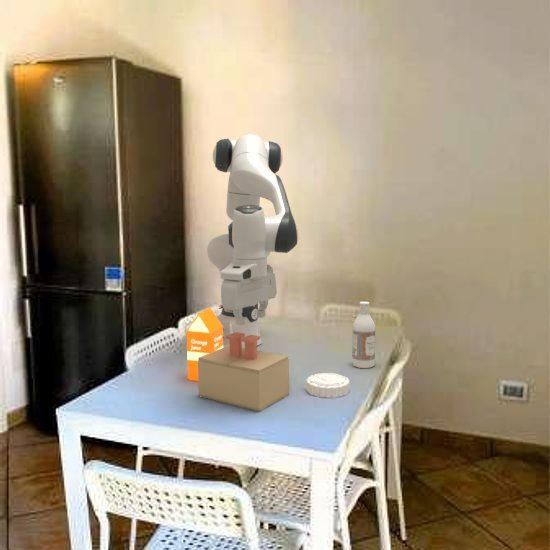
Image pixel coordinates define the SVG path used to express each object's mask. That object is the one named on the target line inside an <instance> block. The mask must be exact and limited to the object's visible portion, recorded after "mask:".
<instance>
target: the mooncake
mask: <svg viewBox="0 0 550 550" xmlns="http://www.w3.org/2000/svg"><path fill="white" fill-rule="evenodd" d="M350 382H351V381H350V379H349V378H348V377H347V376H344V375H341V374H338V373H334V372H323V373H322V372H320V373H316V374H311V375H310V376H308V377H307V378H306V380H305V390H306V393H309V395H311V396H313V397H319V398H325V399H330V398H333V399H334V398H340V397H343V396H346V395H347V394H349V393H350V391H351V390H350V389H351V387H350V385H351V383H350Z"/></svg>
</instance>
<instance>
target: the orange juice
mask: <svg viewBox="0 0 550 550" xmlns="http://www.w3.org/2000/svg"><path fill="white" fill-rule="evenodd" d="M221 348H223V326H222V325H221V323H220V322H219V320H218V319H217V315H216V314H215V312H214V311H213V310H212V307H208V308H207V309H204V310H203V311H200V312H199V313H197V314H196V316H195V318H194V320H193V321H192V322H191V324H190V325H189V327H188V328H187V330H186V350H187V351H186V352H187V354H186V357H187V377H188V378H187V379H189V380H190V381H197V382H198V358H199V357H201V356H204V355H206V354H209V353H211V352H214V351H216V350H219V349H221Z"/></svg>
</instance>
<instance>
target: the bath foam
mask: <svg viewBox="0 0 550 550" xmlns="http://www.w3.org/2000/svg"><path fill="white" fill-rule="evenodd" d="M351 341H352V346H351V347H352V348H351V349H352V351H351V353H352V354H351V356H352V359H351V364H352V366H353V367H355V368H359V369H370V368H372V367H374V366H375V362H376V324H375V322H374V320H373V318H372V317H371V315H370V302H369V301H359V314H358V315H357V317H356V318H355V320H354V322H353V325H352V340H351Z"/></svg>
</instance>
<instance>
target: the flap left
mask: <svg viewBox="0 0 550 550" xmlns="http://www.w3.org/2000/svg"><path fill="white" fill-rule="evenodd" d="M242 337H245V334H244V333H238V332H235V333H232V334H229V335H227V336H226V339H230V345H229V346H227V347H224V348H221V349H219V350H216V351H214V352H211V353H209V354H206V355H204V356H201V357H199V358H198V360H199V361H203V362H208V363H213V364H217V365H222V366H227V367H228V364H229V363H231V362H233V361H236V360H238V359H240V358H243V357H245V348H242V341H241V338H242Z"/></svg>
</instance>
